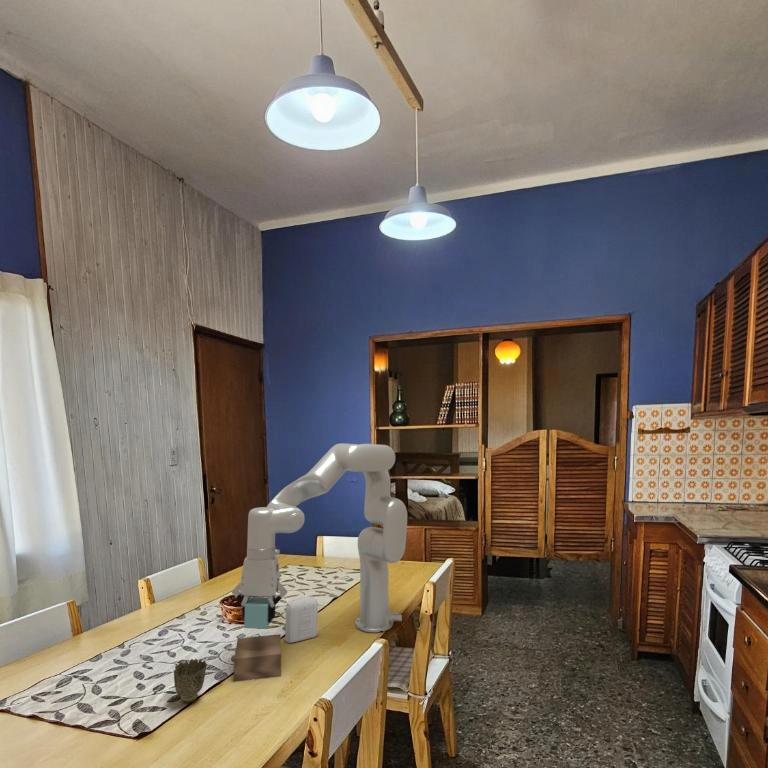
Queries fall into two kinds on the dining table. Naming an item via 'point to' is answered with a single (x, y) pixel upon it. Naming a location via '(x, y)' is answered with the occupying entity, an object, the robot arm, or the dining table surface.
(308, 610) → the photo printer
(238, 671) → the walnut block
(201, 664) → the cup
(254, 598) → the teal cube
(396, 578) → the dining table surface
